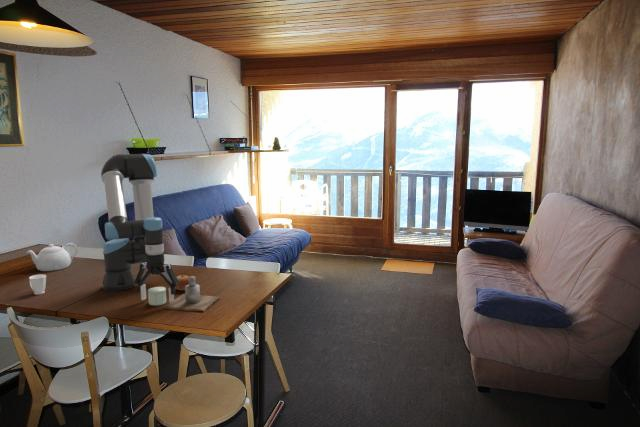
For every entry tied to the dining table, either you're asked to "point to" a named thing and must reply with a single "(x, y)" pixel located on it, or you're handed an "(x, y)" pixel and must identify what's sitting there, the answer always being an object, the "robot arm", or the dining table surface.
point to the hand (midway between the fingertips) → (157, 300)
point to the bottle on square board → (192, 299)
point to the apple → (182, 282)
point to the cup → (38, 283)
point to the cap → (157, 295)
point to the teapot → (52, 258)
